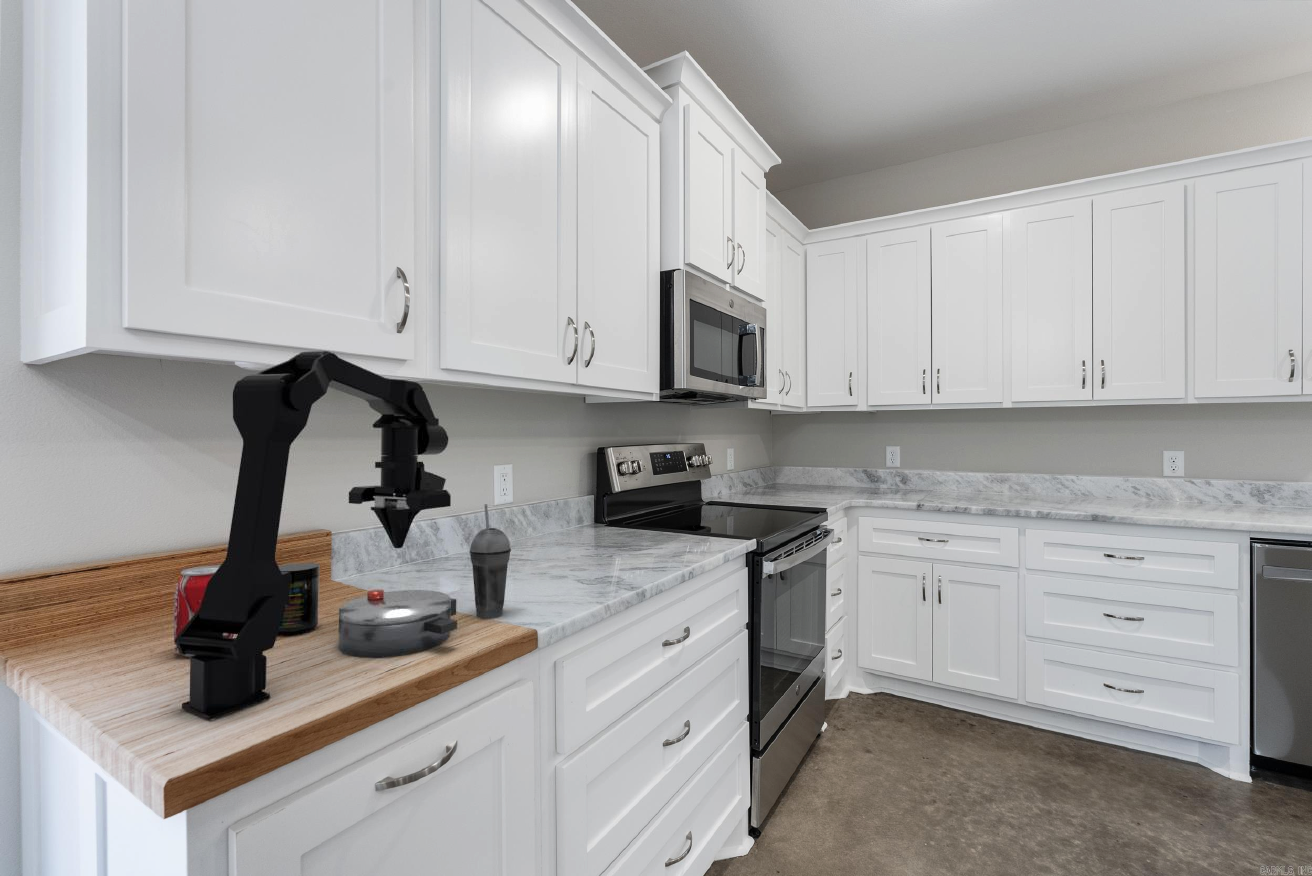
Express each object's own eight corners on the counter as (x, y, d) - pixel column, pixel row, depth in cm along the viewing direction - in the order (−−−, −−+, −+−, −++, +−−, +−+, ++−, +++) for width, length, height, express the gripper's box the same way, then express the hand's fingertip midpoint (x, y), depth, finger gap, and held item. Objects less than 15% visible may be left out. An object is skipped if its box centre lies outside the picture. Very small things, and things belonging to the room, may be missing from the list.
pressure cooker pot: (403, 669, 80) (404, 636, 80) (301, 642, 90) (301, 612, 90) (495, 632, 96) (496, 604, 96) (399, 612, 106) (400, 587, 106)
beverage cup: (519, 613, 107) (520, 503, 107) (487, 623, 101) (489, 506, 101) (491, 606, 111) (492, 500, 111) (459, 616, 104) (461, 503, 105)
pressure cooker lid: (387, 631, 81) (387, 615, 81) (315, 615, 89) (315, 600, 89) (472, 603, 96) (472, 590, 96) (404, 591, 103) (404, 578, 103)
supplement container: (322, 631, 96) (323, 567, 96) (273, 640, 91) (274, 572, 91) (314, 621, 101) (315, 560, 101) (267, 629, 96) (268, 565, 96)
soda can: (201, 661, 82) (202, 575, 82) (160, 657, 83) (161, 573, 84) (246, 644, 89) (247, 565, 89) (207, 641, 90) (208, 563, 90)
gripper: (475, 456, 102) (474, 545, 102) (401, 454, 111) (400, 536, 111) (423, 457, 93) (422, 556, 92) (347, 455, 101) (345, 545, 101)
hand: (398, 547), depth 99 cm, fingers closed
